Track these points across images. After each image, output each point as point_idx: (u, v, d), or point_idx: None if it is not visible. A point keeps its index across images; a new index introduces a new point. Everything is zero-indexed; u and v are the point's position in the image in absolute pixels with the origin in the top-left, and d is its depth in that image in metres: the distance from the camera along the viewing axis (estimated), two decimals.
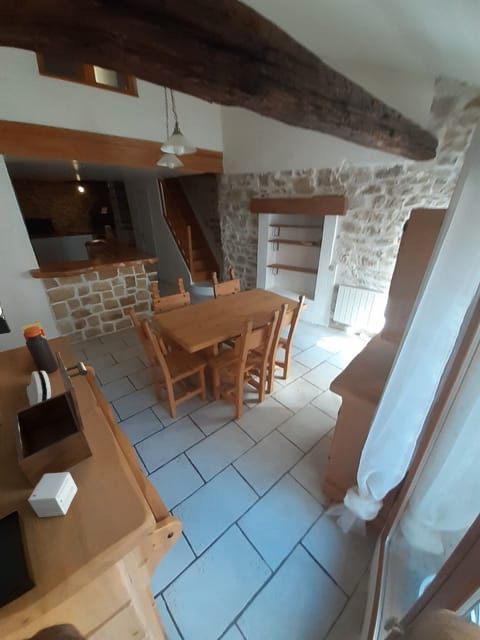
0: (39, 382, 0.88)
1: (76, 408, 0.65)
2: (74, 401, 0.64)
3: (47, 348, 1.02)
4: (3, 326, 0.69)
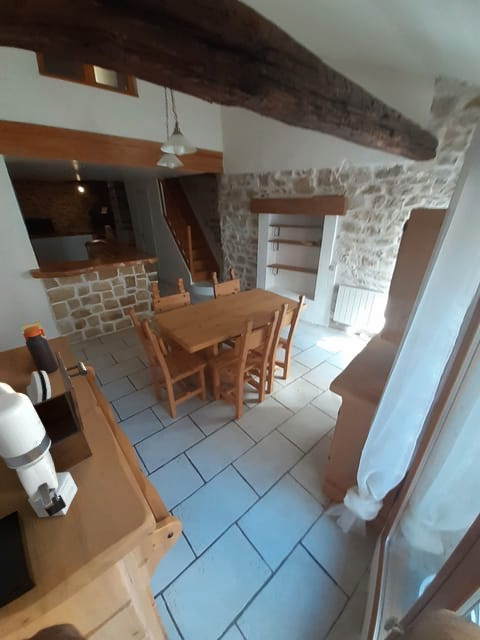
0: (39, 382, 0.88)
1: (76, 408, 0.65)
2: (74, 401, 0.64)
3: (47, 348, 1.02)
4: None
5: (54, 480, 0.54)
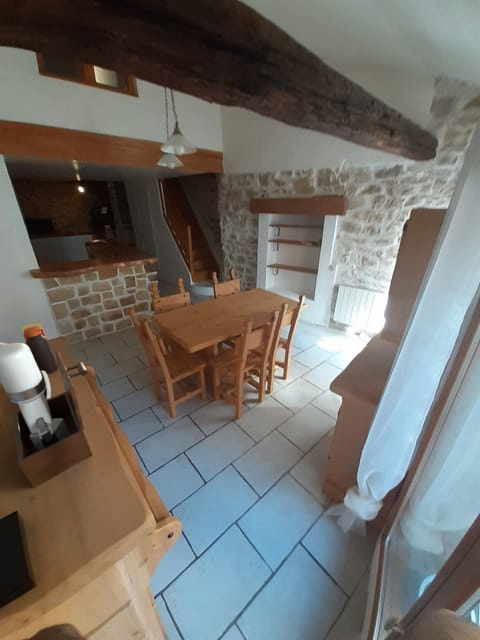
0: None
1: (76, 408, 0.65)
2: (74, 401, 0.64)
3: (47, 348, 1.02)
4: None
5: (49, 416, 0.67)
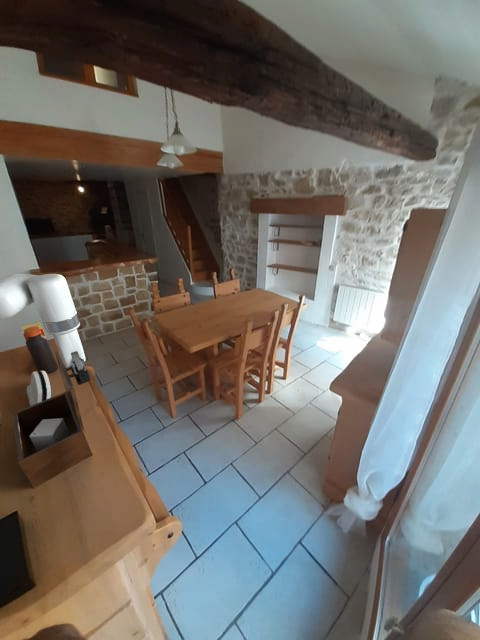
0: (39, 382, 0.88)
1: (76, 408, 0.65)
2: (74, 401, 0.64)
3: (47, 348, 1.02)
4: None
5: (83, 352, 0.67)
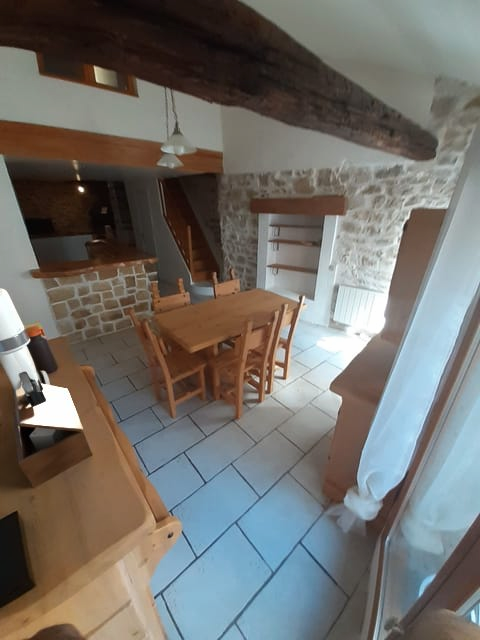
0: None
1: (51, 427, 0.62)
2: (40, 427, 0.61)
3: (47, 348, 1.02)
4: None
5: (34, 372, 0.61)
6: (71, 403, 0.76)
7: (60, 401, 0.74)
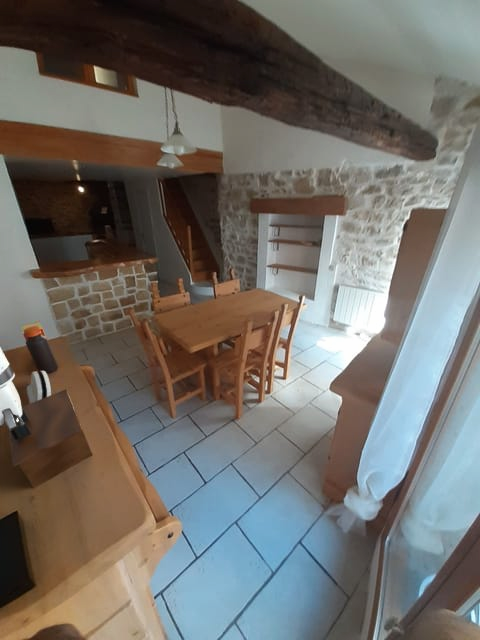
0: (39, 382, 0.88)
1: (48, 448, 0.64)
2: (36, 454, 0.62)
3: (47, 348, 1.02)
4: (22, 416, 0.69)
5: (17, 408, 0.61)
6: (70, 404, 0.76)
7: (57, 409, 0.74)
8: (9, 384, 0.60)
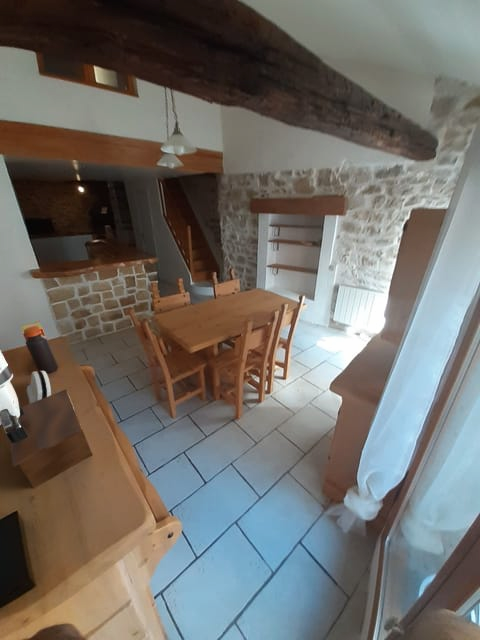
0: (39, 382, 0.88)
1: (48, 448, 0.64)
2: (36, 454, 0.62)
3: (47, 348, 1.02)
4: None
5: (15, 408, 0.61)
6: (70, 404, 0.76)
7: (57, 409, 0.74)
8: (7, 385, 0.60)
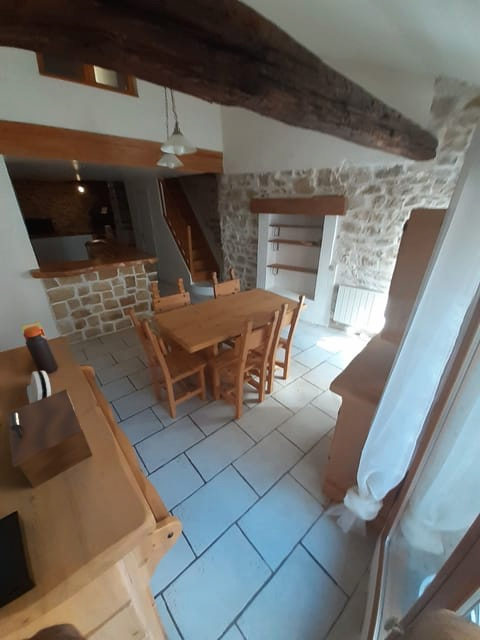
0: (39, 382, 0.88)
1: (48, 448, 0.64)
2: (36, 454, 0.62)
3: (47, 348, 1.02)
4: None
5: None
6: (70, 404, 0.76)
7: (57, 409, 0.74)
8: None
